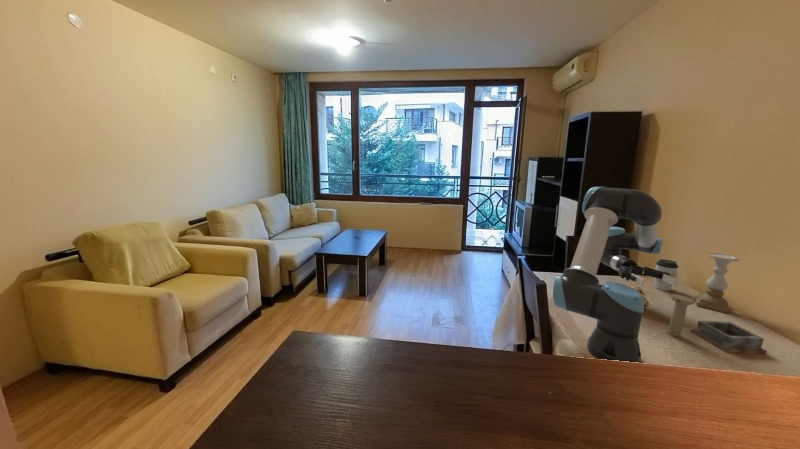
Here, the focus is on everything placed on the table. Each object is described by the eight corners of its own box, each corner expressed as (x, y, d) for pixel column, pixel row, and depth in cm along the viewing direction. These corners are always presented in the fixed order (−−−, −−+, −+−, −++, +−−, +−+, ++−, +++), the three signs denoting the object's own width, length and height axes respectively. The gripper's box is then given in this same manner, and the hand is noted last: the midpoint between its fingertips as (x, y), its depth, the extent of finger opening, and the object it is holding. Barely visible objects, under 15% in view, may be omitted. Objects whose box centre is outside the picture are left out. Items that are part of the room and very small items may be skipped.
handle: (680, 340, 120) (689, 302, 117) (661, 332, 126) (668, 295, 123) (687, 337, 123) (696, 300, 119) (668, 329, 128) (675, 293, 125)
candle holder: (695, 298, 159) (706, 251, 154) (726, 305, 152) (739, 256, 147) (696, 306, 151) (708, 256, 146) (729, 313, 144) (743, 261, 139)
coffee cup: (653, 289, 169) (658, 261, 166) (649, 283, 177) (655, 256, 174) (675, 293, 165) (681, 264, 162) (670, 287, 173) (676, 259, 170)
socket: (726, 352, 114) (729, 339, 113) (690, 331, 127) (693, 319, 126) (766, 353, 114) (769, 340, 113) (726, 332, 128) (729, 320, 127)
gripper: (648, 273, 154) (688, 292, 133) (596, 272, 153) (627, 291, 133) (651, 258, 152) (692, 274, 132) (598, 256, 152) (630, 273, 131)
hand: (659, 282), depth 132 cm, fingers open, 13 cm apart
